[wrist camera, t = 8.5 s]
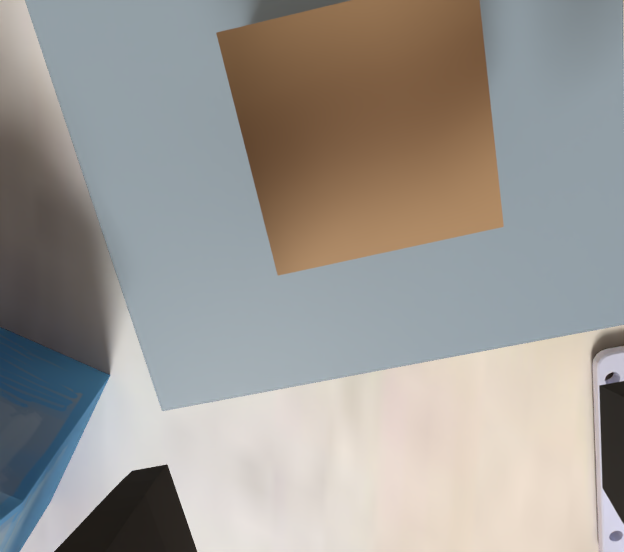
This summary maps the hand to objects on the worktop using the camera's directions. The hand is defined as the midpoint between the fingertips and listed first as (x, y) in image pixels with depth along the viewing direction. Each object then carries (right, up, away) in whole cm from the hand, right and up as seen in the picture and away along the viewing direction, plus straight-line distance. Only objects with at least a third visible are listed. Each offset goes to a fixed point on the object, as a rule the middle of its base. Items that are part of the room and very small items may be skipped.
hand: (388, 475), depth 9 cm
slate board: (0, +8, +7) cm, 11 cm away
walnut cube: (0, +8, +7) cm, 10 cm away
